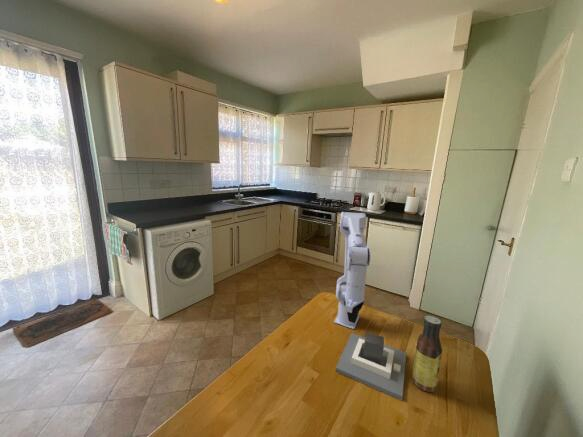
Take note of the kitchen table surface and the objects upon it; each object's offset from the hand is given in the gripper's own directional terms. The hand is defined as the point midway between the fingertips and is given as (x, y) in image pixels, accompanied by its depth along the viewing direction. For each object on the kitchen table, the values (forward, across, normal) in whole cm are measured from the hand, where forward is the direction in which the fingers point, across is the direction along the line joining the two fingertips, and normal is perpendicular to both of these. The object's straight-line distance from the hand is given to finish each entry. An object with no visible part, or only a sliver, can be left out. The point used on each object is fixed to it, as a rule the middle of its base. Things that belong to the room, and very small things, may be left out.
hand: (352, 321), depth 78 cm
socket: (+10, +3, +8) cm, 13 cm away
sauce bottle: (+10, +3, +22) cm, 24 cm away
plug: (+9, +3, +8) cm, 12 cm away
